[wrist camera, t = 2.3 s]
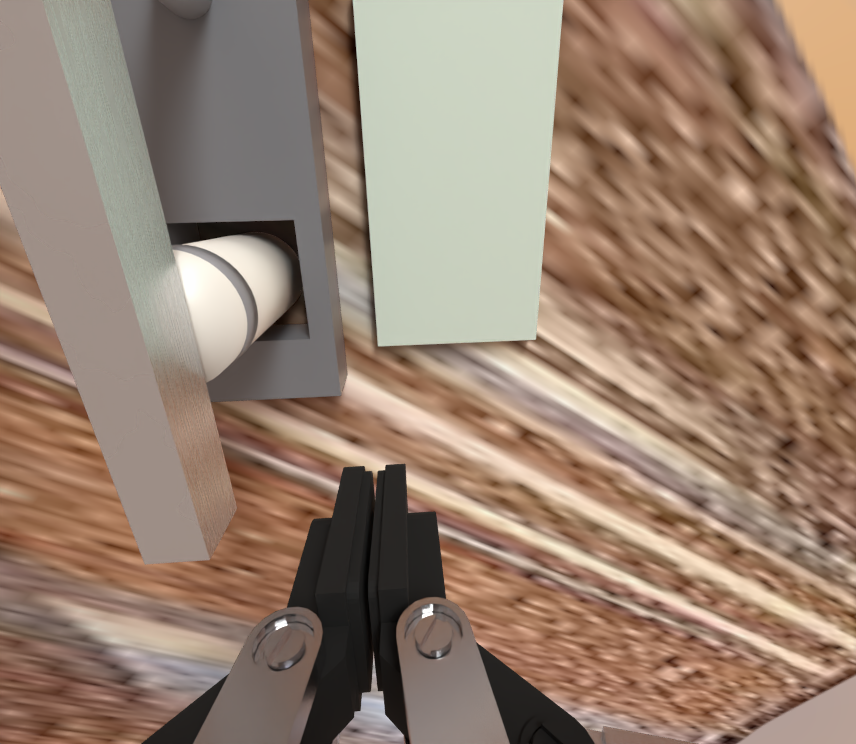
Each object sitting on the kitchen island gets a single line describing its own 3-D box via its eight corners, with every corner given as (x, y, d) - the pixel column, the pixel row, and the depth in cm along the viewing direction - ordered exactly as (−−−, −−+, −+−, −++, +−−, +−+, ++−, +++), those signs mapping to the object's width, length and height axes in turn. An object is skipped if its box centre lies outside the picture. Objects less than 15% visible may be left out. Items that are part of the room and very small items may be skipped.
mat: (353, -10, 18) (351, -22, 17) (556, -10, 18) (564, -21, 17) (378, 340, 24) (377, 346, 23) (530, 334, 24) (535, 339, 23)
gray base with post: (100, -74, 17) (-287, -434, 7) (300, -72, 17) (180, -409, 8) (210, 380, 24) (92, 491, 15) (347, 374, 25) (316, 478, 15)
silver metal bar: (-97, -300, 8) (-294, -501, 6) (58, -294, 8) (-74, -488, 6) (170, 512, 15) (131, 565, 13) (248, 507, 15) (222, 559, 13)
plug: (209, 231, 21) (63, 253, 12) (298, 229, 21) (221, 248, 12) (228, 317, 23) (111, 393, 14) (309, 314, 23) (250, 387, 14)
